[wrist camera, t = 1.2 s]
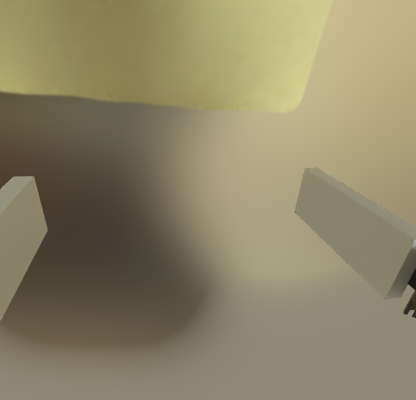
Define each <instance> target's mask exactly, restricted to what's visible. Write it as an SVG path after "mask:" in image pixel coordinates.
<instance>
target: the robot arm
mask: <svg viewBox="0 0 416 400" xmlns="http://www.w3.org/2000/svg"><path fill="white" fill-rule="evenodd" d="M295 213H296V214H297V215H298V216H299V217H300V218H301V219H302V220H303V221H304V222H305V223H306V224H307V225H308V226H309V227H310V228H311V229H312V230H313V231H315V233H317V234H318V235H319V236H320V237H321V238H322V239H323V240H324V241H325V242H326V243H327V244H328V245H329V246H330V247H331V248H332V249H333V250H334V251H335V252H336V253H337V254H338V255H339V256H340V257H341V258H342V259H343V260H345V262H346V263H348V264H349V265H350V266H351V267H352V268H353V269H354V270H355V271H356V272H357V273H358V274H359V275H360V276H361V277H362V278H363V279H364V280H365V281H366V282H367V283H368V284H369V285H370V286H371V287H372V288H373V289H374V290H375V291H376V292H377V293H379V294H380V295H381V296H382V297H383V298H384V299H391V298H397V297H401V296H402V294H403V292H404V291H405V289H406V287H407V285H408V284H409V285H410V286H411V287H412V288H413V289H414V290H415V291H414V293H413V295H412V297H411V298H410V300H409V302H408V304H407V306H406V307H405V309H404V314H406V315H407V314H408V312H409V311H410V310H414V311H415V312H414V313H413V315H412V317H415V318H416V227H415V226H413V225H411V224H410V223H408V222H407V221H405V220H403V219H402V218H400V217H398V216H397V215H395V214H393V213H392V212H390V211H388V210H387V209H385V208H383V207H382V206H380V205H378V204H377V203H375V202H373V201H372V200H370V199H368V198H367V197H365V196H363V195H361V194H360V193H358V192H357V191H355V190H353V189H352V188H350V187H348V186H347V185H345V184H343V183H342V182H340V181H338V180H336V179H335V178H333V177H332V176H330V175H328V174H327V173H325V172H323V171H322V170H320V169H318V168H305V170H304V175H303V179H302V183H301V187H300V191H299V195H298V199H297V204H296V208H295ZM46 232H47V226H46V222H45V218H44V215H43V211H42V207H41V202H40V199H39V195H38V191H37V187H36V183H35V179H34V176H28V177H13V178H12V179H11V180H10V181H8V182H7V183H6V184H5V185H4V186H3V187H2V188H1V189H0V321H1V319H2V317H3V315H4V313H5V311H6V309H7V307H8V305H9V303H10V302H11V299H12V298H13V296H14V294H15V292H16V290H17V288H18V286H19V284H20V282H21V280H22V278H23V276H24V275H25V273H26V271H27V269H28V267H29V265H30V263H31V261H32V259H33V257H34V255H35V253H36V252H37V250H38V248H39V246H40V244H41V242H42V240H43V238H44V236H45V234H46Z"/></svg>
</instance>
